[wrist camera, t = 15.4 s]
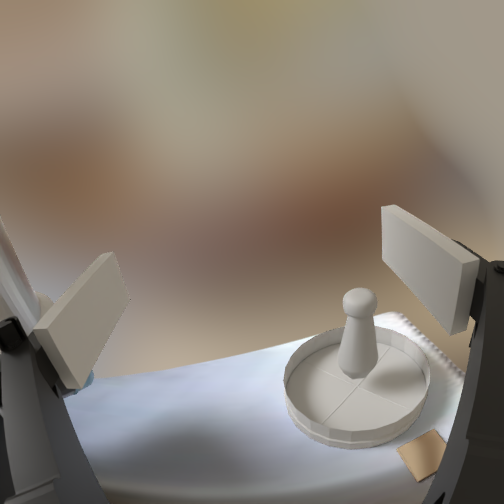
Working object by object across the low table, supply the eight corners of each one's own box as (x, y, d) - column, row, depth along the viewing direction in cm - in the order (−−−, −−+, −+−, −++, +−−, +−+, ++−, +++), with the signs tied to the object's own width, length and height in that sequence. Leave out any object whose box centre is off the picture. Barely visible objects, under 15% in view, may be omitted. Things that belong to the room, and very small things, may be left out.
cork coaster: (417, 482, 25) (418, 480, 25) (396, 450, 31) (397, 448, 31) (455, 459, 26) (456, 457, 26) (433, 430, 31) (433, 428, 31)
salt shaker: (330, 365, 43) (327, 290, 38) (362, 351, 44) (364, 277, 39) (350, 390, 38) (354, 313, 33) (384, 372, 39) (392, 296, 34)
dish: (255, 404, 44) (250, 383, 43) (339, 332, 57) (339, 311, 55) (377, 477, 28) (383, 460, 26) (445, 371, 41) (451, 348, 39)
